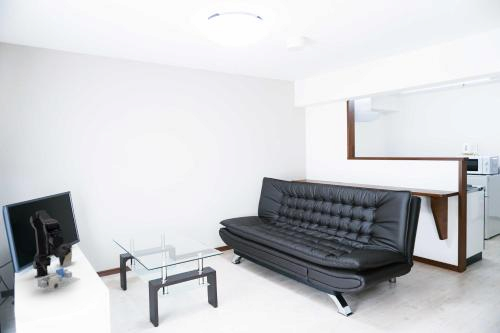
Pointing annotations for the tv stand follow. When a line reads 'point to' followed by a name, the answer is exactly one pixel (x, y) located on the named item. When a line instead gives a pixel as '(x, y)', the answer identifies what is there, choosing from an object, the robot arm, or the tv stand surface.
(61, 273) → the grey backboard with ledge
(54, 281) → the cream cube with dome
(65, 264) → the coffee cup
